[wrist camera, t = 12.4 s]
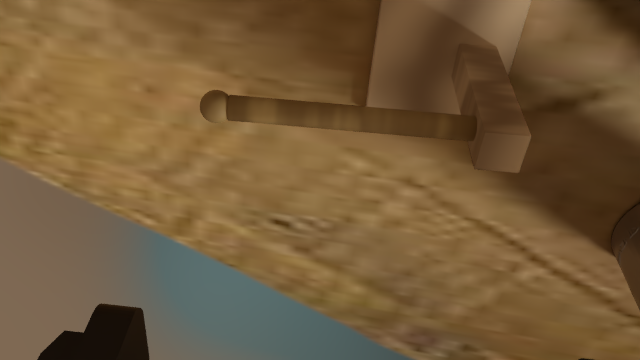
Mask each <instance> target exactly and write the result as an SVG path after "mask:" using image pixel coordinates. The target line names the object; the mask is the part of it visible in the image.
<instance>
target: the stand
mask: <svg viewBox="0 0 640 360" xmlns="http://www.w3.org/2000/svg"><path fill="white" fill-rule="evenodd" d="M530 3H531V0H380V7H379V14H378V22H377V29H376V36H375V43H374V50H373V57H372V64H371V71H370V78H369V85H368V93H367V100H366V107H365V106H353V105H342V104H330V103H319V102H307V101H295V100H284V99H272V98H260V97H249V96H237V95H228V94H226V93H225V92H223V91H220V90H212V91H209V92H208V93H206V94H205V95H204V96H203V97H202V99H201V102H200V111H201V113H202V115H203V117H204V118H205V119H206V120H208V121H210V122H213V123H221V122H224V121H226V120H227V119H228V120H229V121H241V122H252V123H264V124H276V125H287V126H299V127H311V128H322V129H334V130H346V131H357V132H369V133H381V134H392V135H404V136H416V137H427V138H439V139H451V140H463V141H467V142H468V146H469V150H470V154H471V158H472V162H473V166H474V169H478V170H490V171H502V172H513V173H519V171H520V168H521V165H522V162H523V159H524V157H525V154H526V151H527V148H528V145H529V142H530V140H531V137H532V136H531V134H530V131H529V128H528V126H527V123H526V121H525V118H524V116H523V113H522V111H521V108H520V105H519V103H518V100H517V98H516V95H515V93H514V90H513V87H512V85H511V82H510V80H509V77H508V76H509V72H510V69H511V66H512V63H513V59H514V56H515V53H516V49H517V46H518V43H519V39H520V36H521V33H522V30H523V26H524V23H525V20H526V16H527V13H528V10H529V7H530Z"/></svg>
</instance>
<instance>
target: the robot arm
mask: <svg viewBox="0 0 640 360" xmlns="http://www.w3.org/2000/svg"><path fill="white" fill-rule="evenodd" d="M611 246H612V249H613V253H614V255H615V257H616V259H617V261H618V264H619V266H620V268H621V270H622V272H623V275H624V277H625V279H626V281H627V283H628V286H629V288H630V290H631V293H632V295H633V297H634V299H635V301H636V304H637V306H638V308H639V310H640V204H638V205H637V206H635V207H634V208H632V209H631V210H630V211H629V212H627V213H626V214H625V215H624V216H623V217H622V218H621V220H620V221H619V223H618V224H617V226H616V227H615V229H614V232H613V234H612V241H611ZM38 360H149V352H148V344H147V336H146V329H145V322H144V314H143V310H142V309H141V308H136V307H127V306H118V305H109V304H99V305H98V306H97V307H96V308H95V310H94V312H93V314H92V316H91V318H90V320H89V322H88V325H87V327H86V329H85V331H84V333H82V332H72V331H64V332H63V333H62V334H60V335H59V336H58V337H57V338H56V339H55V340H54V341H53V342H52V343H51V344H50V345H49V346H48V347H47V348H46V349H45V350H44V351H43V352H42V353H41V354H40V356H39V358H38ZM579 360H593V359H584V358H581V359H579Z"/></svg>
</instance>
